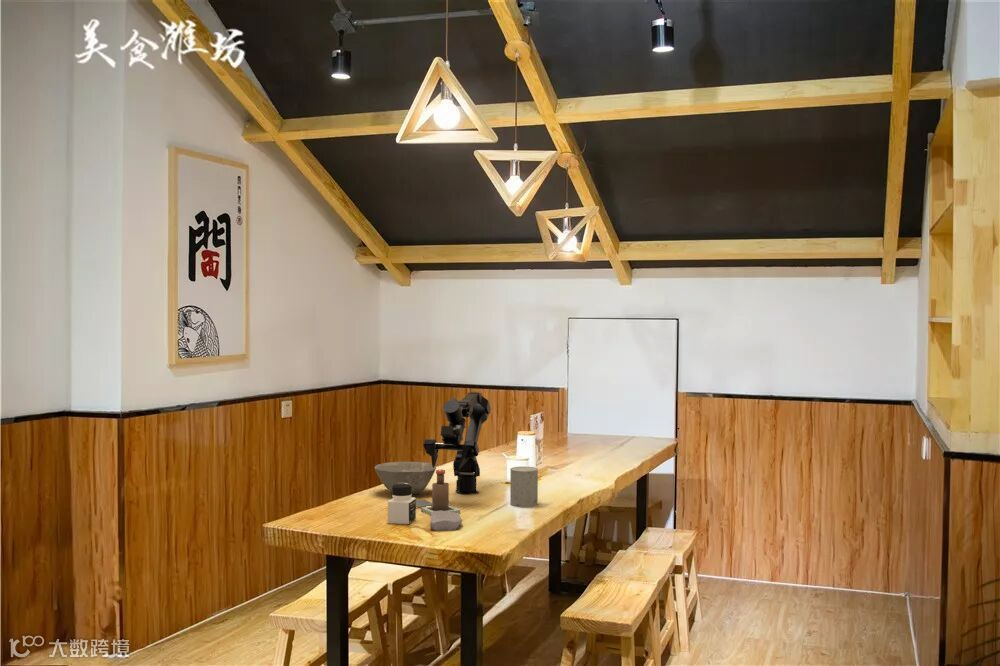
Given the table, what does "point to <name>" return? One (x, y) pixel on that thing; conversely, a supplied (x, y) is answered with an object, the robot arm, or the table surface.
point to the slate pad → (423, 503)
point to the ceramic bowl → (405, 474)
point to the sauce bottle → (440, 493)
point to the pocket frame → (429, 511)
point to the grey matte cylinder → (524, 487)
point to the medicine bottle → (401, 505)
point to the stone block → (445, 520)
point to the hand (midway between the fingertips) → (446, 467)
